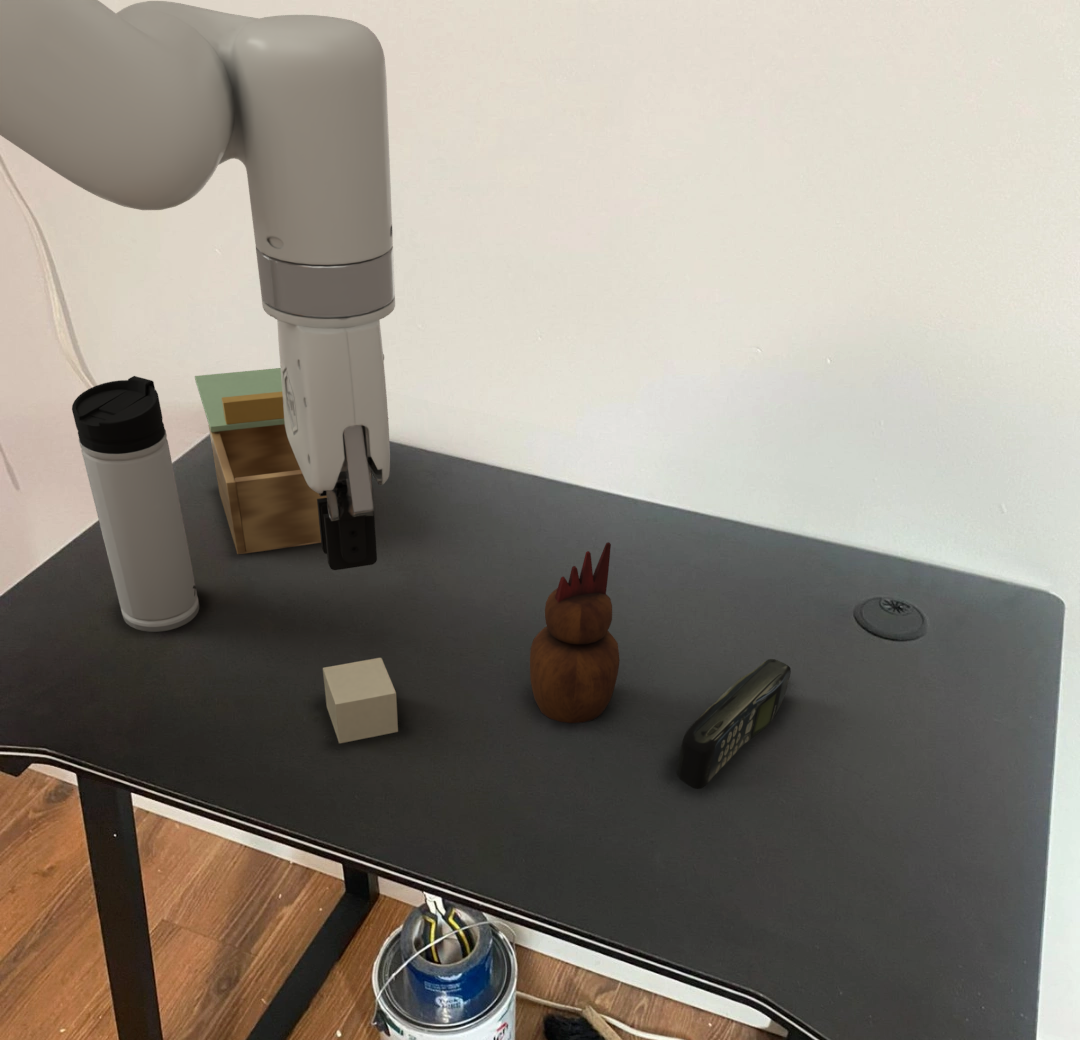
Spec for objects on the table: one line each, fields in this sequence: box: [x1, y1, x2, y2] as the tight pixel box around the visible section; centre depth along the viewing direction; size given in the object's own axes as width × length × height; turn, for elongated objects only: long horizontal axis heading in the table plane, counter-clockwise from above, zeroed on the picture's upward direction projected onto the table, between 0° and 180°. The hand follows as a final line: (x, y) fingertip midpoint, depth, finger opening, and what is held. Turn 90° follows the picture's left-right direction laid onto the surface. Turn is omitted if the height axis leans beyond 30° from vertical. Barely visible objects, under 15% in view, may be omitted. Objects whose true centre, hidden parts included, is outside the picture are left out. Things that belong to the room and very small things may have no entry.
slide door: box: [194, 367, 285, 432], centre depth 105 cm, size 11×12×3 cm
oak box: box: [208, 424, 327, 555], centre depth 102 cm, size 11×12×8 cm
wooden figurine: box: [529, 542, 620, 724], centre depth 80 cm, size 7×6×15 cm
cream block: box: [322, 657, 399, 744], centre depth 81 cm, size 4×4×4 cm
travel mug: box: [71, 375, 200, 633], centre depth 85 cm, size 6×7×20 cm
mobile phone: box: [676, 658, 792, 790], centre depth 81 cm, size 5×3×15 cm
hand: (349, 556), depth 72 cm, fingers closed
